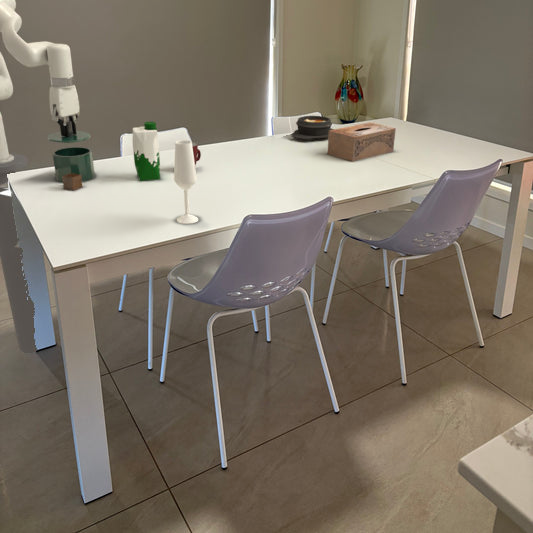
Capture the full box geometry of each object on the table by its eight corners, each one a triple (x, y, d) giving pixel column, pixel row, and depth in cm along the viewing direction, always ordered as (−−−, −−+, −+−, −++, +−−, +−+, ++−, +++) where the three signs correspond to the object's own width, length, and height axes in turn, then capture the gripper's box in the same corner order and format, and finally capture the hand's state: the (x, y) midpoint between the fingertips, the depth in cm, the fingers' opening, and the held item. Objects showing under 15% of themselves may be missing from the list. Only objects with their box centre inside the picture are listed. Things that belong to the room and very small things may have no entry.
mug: (191, 164, 234) (189, 139, 229) (206, 167, 230) (206, 142, 225) (173, 170, 226) (171, 145, 221) (189, 174, 222) (188, 148, 217)
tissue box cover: (352, 161, 240) (354, 137, 235) (327, 154, 250) (328, 130, 245) (393, 151, 255) (395, 128, 250) (367, 144, 265) (369, 122, 260)
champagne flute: (199, 215, 184) (196, 139, 173) (197, 223, 178) (194, 145, 167) (177, 215, 183) (173, 139, 173) (175, 223, 177) (170, 145, 167)
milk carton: (162, 179, 215) (158, 125, 207) (137, 182, 213) (132, 126, 204) (158, 173, 223) (154, 120, 214) (134, 175, 220) (129, 121, 212)
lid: (38, 140, 208) (36, 122, 206) (68, 132, 220) (66, 114, 217) (70, 146, 203) (68, 127, 200) (99, 137, 215) (97, 119, 212)
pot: (48, 179, 215) (44, 153, 211) (74, 169, 226) (71, 145, 222) (77, 184, 209) (73, 158, 205) (102, 174, 220) (99, 149, 216)
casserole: (313, 145, 263) (314, 126, 259) (281, 138, 274) (281, 120, 270) (345, 135, 280) (346, 117, 276) (313, 129, 291) (314, 112, 287)
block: (63, 188, 206) (62, 176, 204) (72, 185, 209) (71, 172, 207) (73, 190, 204) (71, 178, 202) (82, 187, 207) (81, 174, 205)
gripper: (70, 78, 211) (76, 129, 219) (36, 84, 198) (44, 138, 206) (87, 80, 208) (92, 131, 216) (53, 86, 195) (60, 141, 203)
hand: (68, 134), depth 211 cm, fingers closed on lid, 3 cm apart
